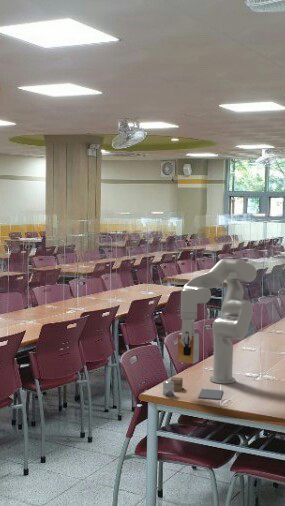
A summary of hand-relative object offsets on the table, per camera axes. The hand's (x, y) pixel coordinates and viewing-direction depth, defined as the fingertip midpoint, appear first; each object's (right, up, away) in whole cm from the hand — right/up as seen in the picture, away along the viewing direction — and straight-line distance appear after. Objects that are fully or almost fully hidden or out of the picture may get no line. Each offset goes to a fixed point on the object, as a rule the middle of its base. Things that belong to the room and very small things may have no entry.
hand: (188, 353), depth 299 cm
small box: (0, -4, 0) cm, 4 cm away
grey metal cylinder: (-9, -19, -1) cm, 21 cm away
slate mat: (+10, -19, 0) cm, 22 cm away
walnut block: (-5, -18, +9) cm, 21 cm away
